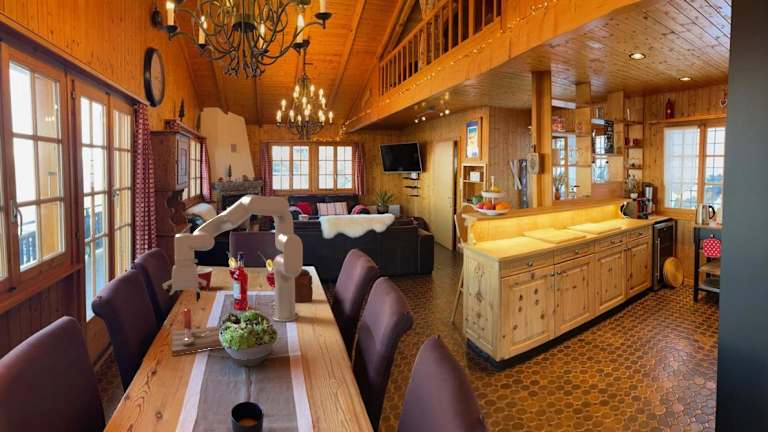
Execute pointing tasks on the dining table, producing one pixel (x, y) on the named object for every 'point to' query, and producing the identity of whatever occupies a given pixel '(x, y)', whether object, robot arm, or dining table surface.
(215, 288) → the dining table surface
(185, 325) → the lever
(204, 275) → the plastic cup
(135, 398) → the dining table surface
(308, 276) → the wooden figurine
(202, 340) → the lever board
